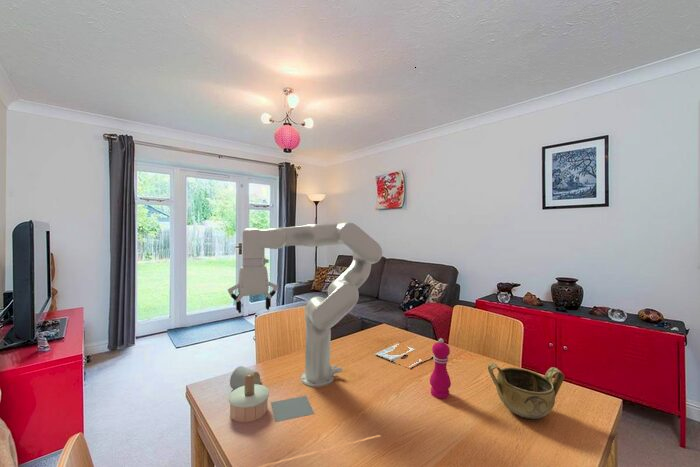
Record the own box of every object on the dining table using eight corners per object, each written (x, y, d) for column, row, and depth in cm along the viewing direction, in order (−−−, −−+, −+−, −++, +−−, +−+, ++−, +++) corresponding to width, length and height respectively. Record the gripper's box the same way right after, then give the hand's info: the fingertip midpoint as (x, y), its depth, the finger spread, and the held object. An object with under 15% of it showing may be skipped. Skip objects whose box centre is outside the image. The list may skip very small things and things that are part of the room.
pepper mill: (451, 391, 111) (453, 337, 111) (449, 402, 105) (450, 343, 105) (431, 387, 114) (432, 333, 114) (427, 396, 108) (428, 340, 108)
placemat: (306, 396, 106) (306, 395, 106) (314, 414, 96) (314, 413, 96) (270, 403, 102) (270, 402, 102) (275, 423, 92) (275, 422, 92)
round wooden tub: (264, 399, 104) (265, 384, 104) (269, 418, 94) (269, 402, 94) (230, 406, 100) (230, 390, 100) (230, 426, 90) (230, 409, 90)
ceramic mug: (248, 397, 105) (248, 375, 105) (228, 392, 108) (229, 370, 108) (266, 383, 115) (267, 363, 115) (248, 379, 118) (249, 359, 118)
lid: (266, 387, 105) (267, 364, 105) (271, 406, 94) (271, 380, 93) (228, 393, 100) (229, 369, 100) (228, 414, 89) (229, 387, 89)
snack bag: (399, 346, 155) (399, 342, 155) (434, 359, 140) (435, 354, 140) (373, 356, 142) (373, 351, 142) (409, 372, 127) (409, 367, 127)
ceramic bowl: (498, 426, 93) (499, 376, 92) (479, 395, 109) (480, 353, 109) (576, 431, 91) (578, 381, 90) (545, 399, 108) (546, 356, 107)
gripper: (275, 260, 117) (275, 305, 118) (226, 263, 110) (227, 310, 110) (280, 263, 111) (280, 310, 111) (228, 265, 103) (228, 316, 104)
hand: (253, 310), depth 111 cm, fingers open, 9 cm apart
